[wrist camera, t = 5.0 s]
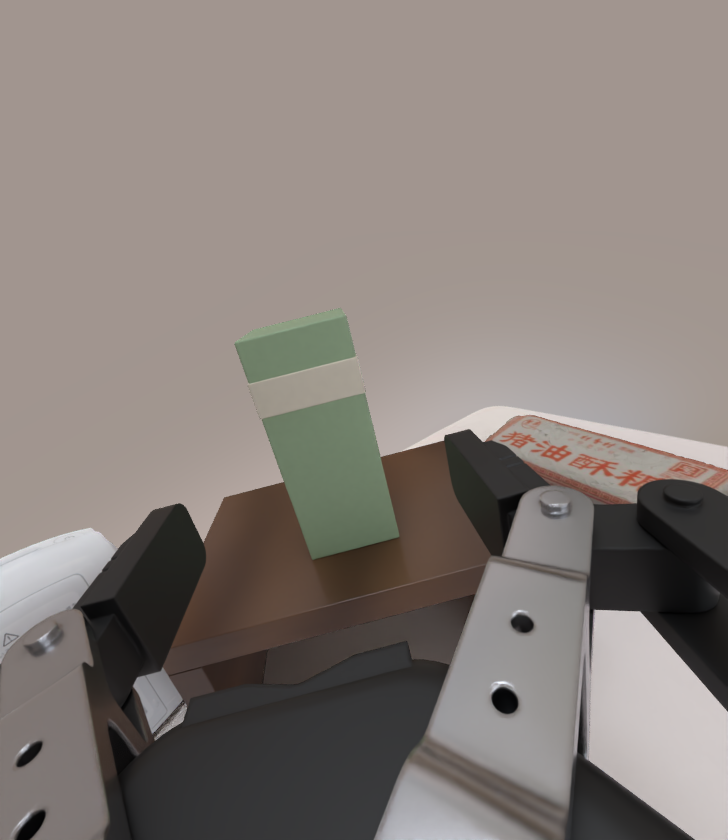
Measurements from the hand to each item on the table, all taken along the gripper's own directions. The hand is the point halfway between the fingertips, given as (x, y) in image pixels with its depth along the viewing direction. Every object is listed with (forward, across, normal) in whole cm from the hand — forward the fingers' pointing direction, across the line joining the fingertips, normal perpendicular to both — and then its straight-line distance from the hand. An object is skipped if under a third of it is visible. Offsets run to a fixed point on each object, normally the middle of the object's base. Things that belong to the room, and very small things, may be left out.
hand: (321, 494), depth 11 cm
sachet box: (+7, 0, +6) cm, 10 cm away
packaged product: (+14, -17, +15) cm, 27 cm away
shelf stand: (+8, 0, +14) cm, 17 cm away
